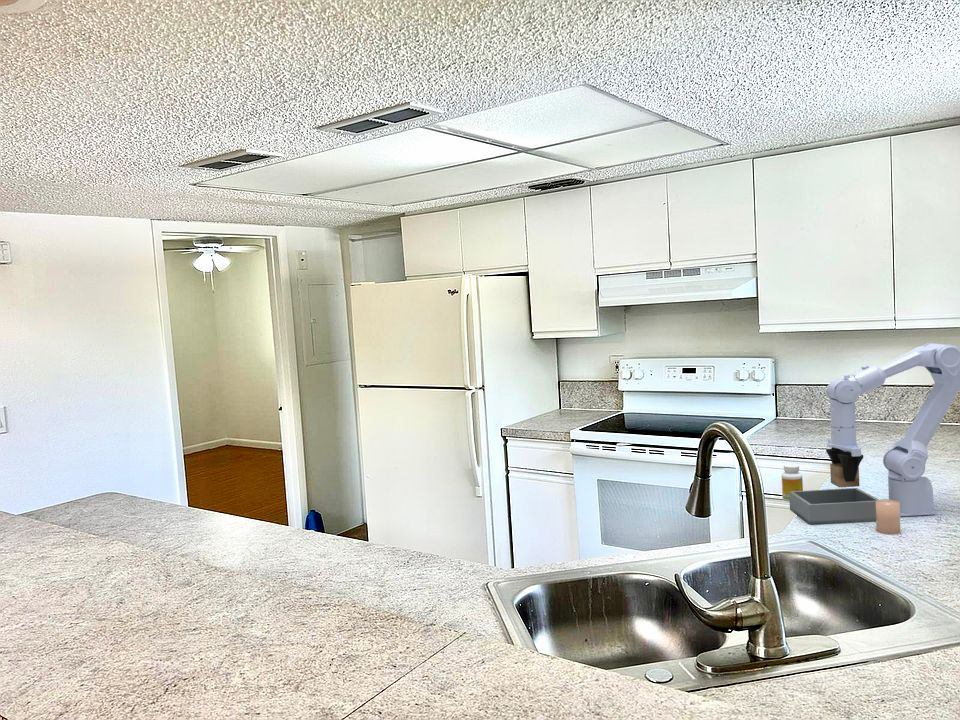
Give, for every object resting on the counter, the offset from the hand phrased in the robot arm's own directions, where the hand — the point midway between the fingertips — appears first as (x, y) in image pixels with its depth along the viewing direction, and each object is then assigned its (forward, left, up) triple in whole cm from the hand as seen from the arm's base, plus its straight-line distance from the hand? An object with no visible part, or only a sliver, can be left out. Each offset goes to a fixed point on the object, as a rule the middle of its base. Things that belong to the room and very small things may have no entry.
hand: (845, 478), depth 193 cm
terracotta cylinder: (-3, +14, -9) cm, 18 cm away
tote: (+3, 0, -9) cm, 10 cm away
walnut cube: (0, 0, -2) cm, 2 cm away
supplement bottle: (+8, -17, -10) cm, 21 cm away
